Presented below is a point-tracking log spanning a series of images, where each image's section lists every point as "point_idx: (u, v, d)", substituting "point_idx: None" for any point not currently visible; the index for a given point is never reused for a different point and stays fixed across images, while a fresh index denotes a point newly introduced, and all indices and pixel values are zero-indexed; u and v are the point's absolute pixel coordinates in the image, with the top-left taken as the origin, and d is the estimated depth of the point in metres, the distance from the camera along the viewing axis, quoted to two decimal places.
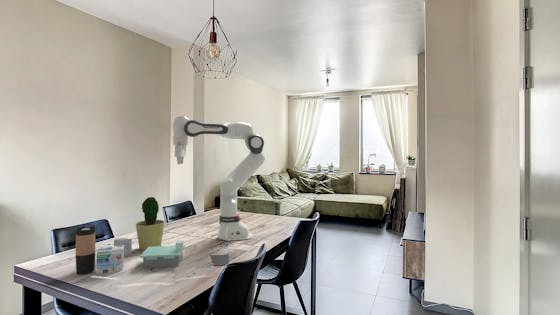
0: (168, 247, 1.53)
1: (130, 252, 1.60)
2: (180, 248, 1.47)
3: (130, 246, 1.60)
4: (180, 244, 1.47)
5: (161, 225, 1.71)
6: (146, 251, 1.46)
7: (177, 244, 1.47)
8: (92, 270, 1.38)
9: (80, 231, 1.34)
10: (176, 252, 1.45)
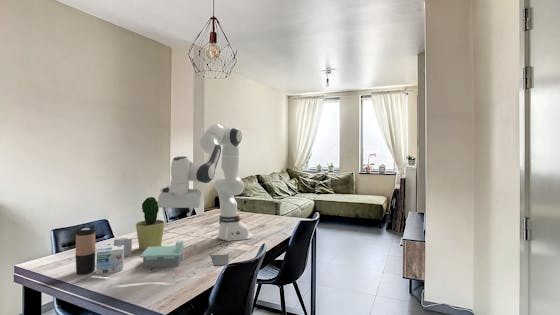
0: (168, 247, 1.53)
1: (130, 252, 1.60)
2: (180, 248, 1.47)
3: (130, 246, 1.60)
4: (180, 244, 1.47)
5: (161, 225, 1.71)
6: (146, 251, 1.46)
7: (177, 244, 1.47)
8: (92, 270, 1.38)
9: (80, 231, 1.34)
10: (176, 252, 1.45)
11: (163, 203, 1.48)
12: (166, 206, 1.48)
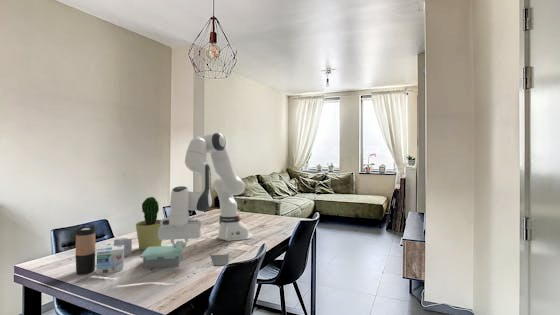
0: (168, 247, 1.53)
1: (130, 252, 1.60)
2: (180, 248, 1.47)
3: (130, 246, 1.60)
4: (180, 244, 1.47)
5: None
6: (146, 251, 1.46)
7: (177, 244, 1.47)
8: (92, 270, 1.38)
9: (80, 231, 1.34)
10: (176, 252, 1.45)
11: (163, 235, 1.46)
12: (166, 238, 1.47)
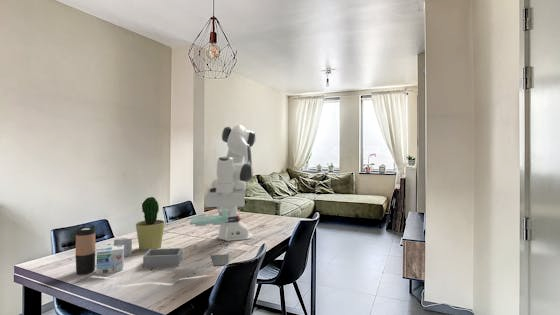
0: (213, 216, 1.58)
1: (130, 252, 1.60)
2: (226, 215, 1.53)
3: (130, 246, 1.60)
4: (226, 212, 1.53)
5: (161, 225, 1.71)
6: (194, 219, 1.52)
7: (223, 212, 1.52)
8: (92, 270, 1.38)
9: (80, 231, 1.34)
10: (223, 219, 1.51)
11: (210, 203, 1.52)
12: (212, 206, 1.52)
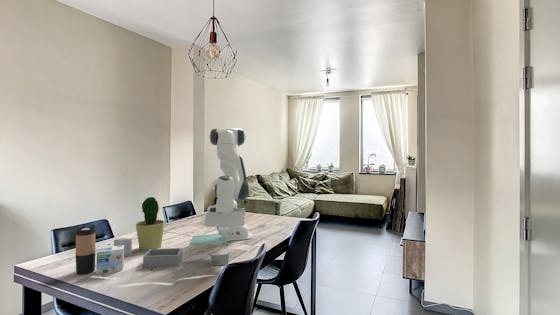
0: (213, 235, 1.58)
1: (130, 252, 1.60)
2: (226, 235, 1.53)
3: (130, 246, 1.60)
4: (225, 231, 1.53)
5: (161, 225, 1.71)
6: (193, 239, 1.52)
7: (223, 231, 1.52)
8: (92, 270, 1.38)
9: (80, 231, 1.34)
10: (222, 239, 1.51)
11: (209, 222, 1.52)
12: (212, 225, 1.52)
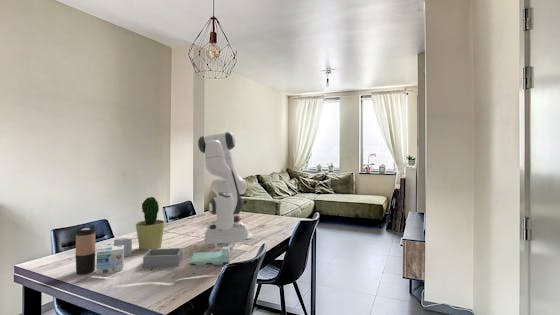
0: (213, 253, 1.58)
1: (130, 252, 1.60)
2: (226, 254, 1.53)
3: (130, 246, 1.60)
4: (226, 250, 1.53)
5: (161, 225, 1.71)
6: (194, 257, 1.52)
7: (224, 250, 1.53)
8: (92, 270, 1.38)
9: (80, 231, 1.34)
10: (223, 258, 1.51)
11: (209, 239, 1.52)
12: (212, 242, 1.52)
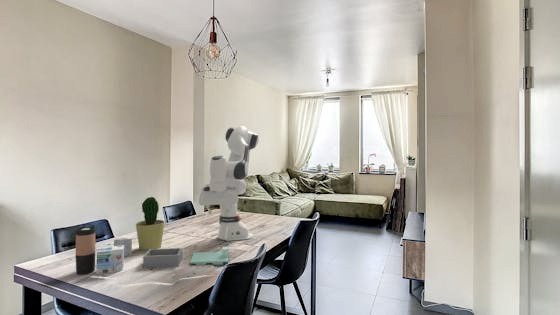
0: (213, 253, 1.58)
1: (130, 252, 1.60)
2: (226, 254, 1.53)
3: (130, 246, 1.60)
4: (226, 250, 1.53)
5: (161, 225, 1.71)
6: (194, 257, 1.52)
7: (224, 250, 1.53)
8: (92, 270, 1.38)
9: (80, 231, 1.34)
10: (223, 258, 1.51)
11: (204, 201, 1.56)
12: (207, 204, 1.56)
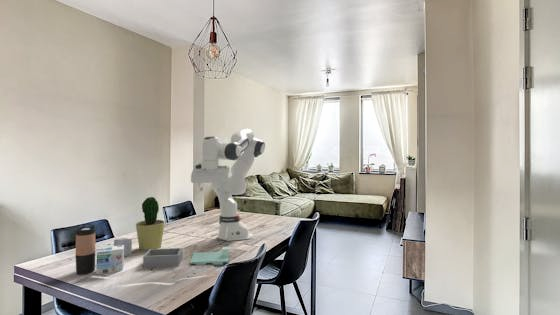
0: (213, 253, 1.58)
1: (130, 252, 1.60)
2: (226, 254, 1.53)
3: (130, 246, 1.60)
4: (226, 250, 1.53)
5: (161, 225, 1.71)
6: (194, 257, 1.52)
7: (224, 250, 1.53)
8: (92, 270, 1.38)
9: (80, 231, 1.34)
10: (223, 258, 1.51)
11: (196, 179, 1.63)
12: (198, 182, 1.63)
